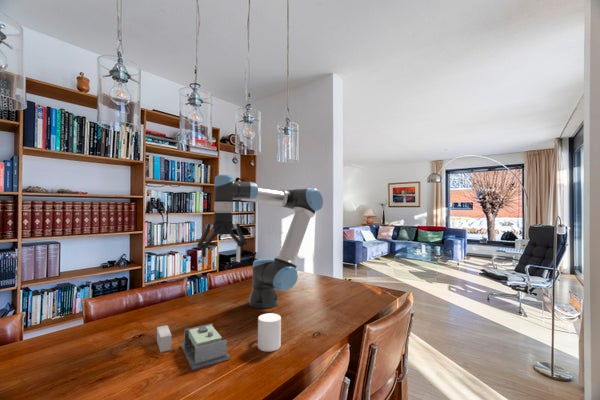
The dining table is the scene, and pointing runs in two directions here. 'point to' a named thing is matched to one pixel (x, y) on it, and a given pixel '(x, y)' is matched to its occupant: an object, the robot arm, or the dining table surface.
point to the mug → (269, 332)
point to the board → (204, 335)
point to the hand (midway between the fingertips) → (222, 263)
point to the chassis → (204, 351)
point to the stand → (164, 338)
